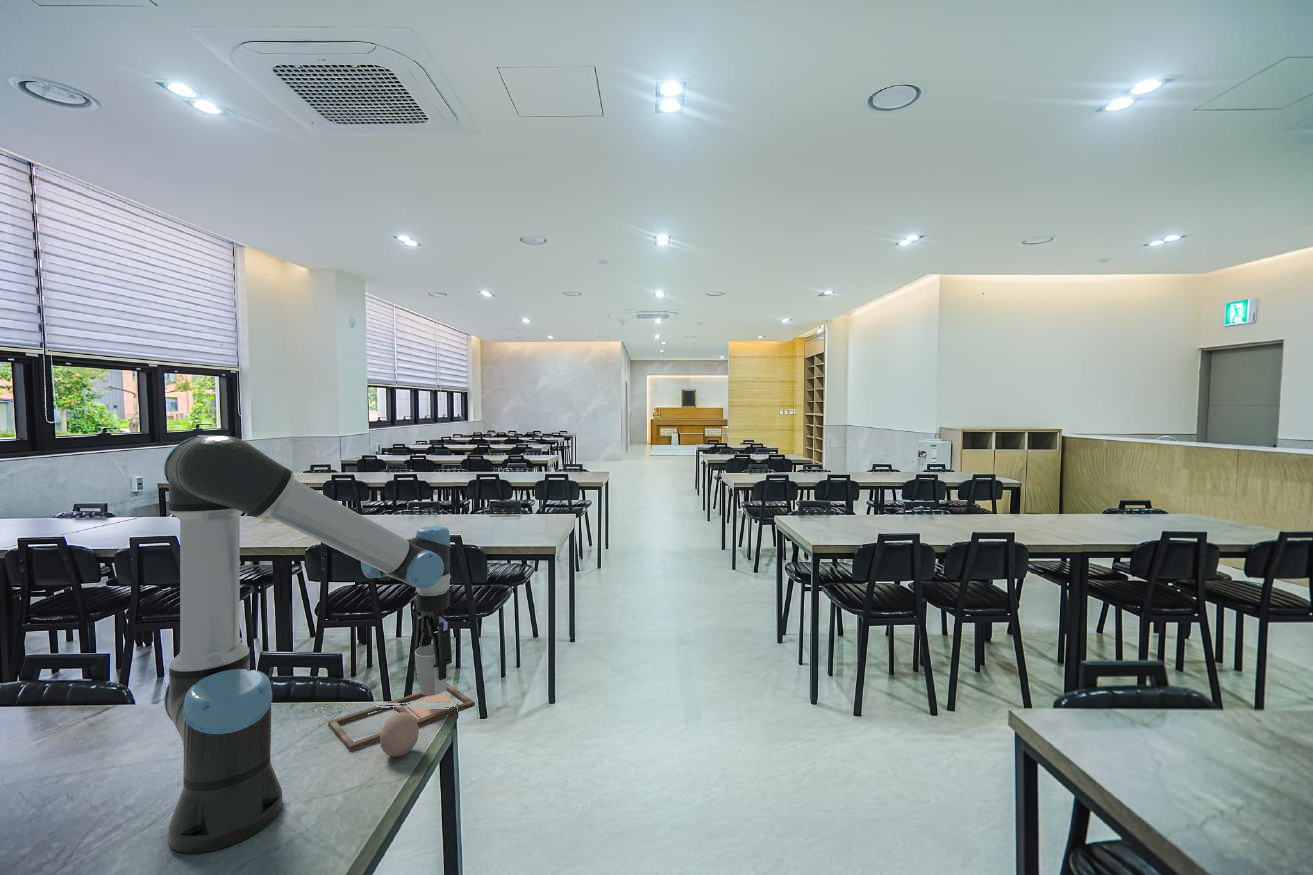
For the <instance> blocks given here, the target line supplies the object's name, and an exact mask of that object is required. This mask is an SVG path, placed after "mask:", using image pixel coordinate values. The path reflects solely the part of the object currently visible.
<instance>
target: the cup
mask: <svg viewBox="0 0 1313 875" xmlns="http://www.w3.org/2000/svg"><path fill="white" fill-rule="evenodd" d="M414 659H415V660H414V663H415V672H416V676H417V684H418V686H419V690H420V692H422V694H423V695H425V697H430V696H433V695H437V694H434V667H433V665H436V659H435V653H434V647H433V643H431V644H430V645H428V646H423V647H420V648H418V649H415V650H414ZM450 667H451V663H450V664H447V680H448V679H449V672H450ZM441 693H443V692H441ZM438 694H440V693H438Z"/></svg>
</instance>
